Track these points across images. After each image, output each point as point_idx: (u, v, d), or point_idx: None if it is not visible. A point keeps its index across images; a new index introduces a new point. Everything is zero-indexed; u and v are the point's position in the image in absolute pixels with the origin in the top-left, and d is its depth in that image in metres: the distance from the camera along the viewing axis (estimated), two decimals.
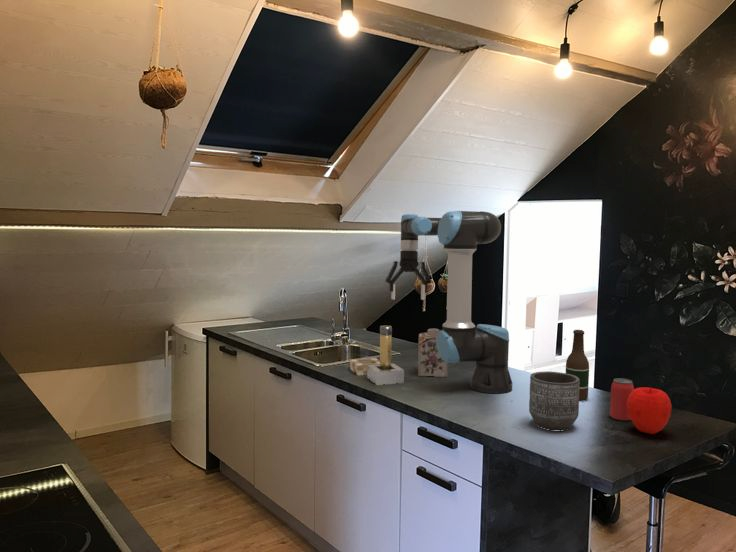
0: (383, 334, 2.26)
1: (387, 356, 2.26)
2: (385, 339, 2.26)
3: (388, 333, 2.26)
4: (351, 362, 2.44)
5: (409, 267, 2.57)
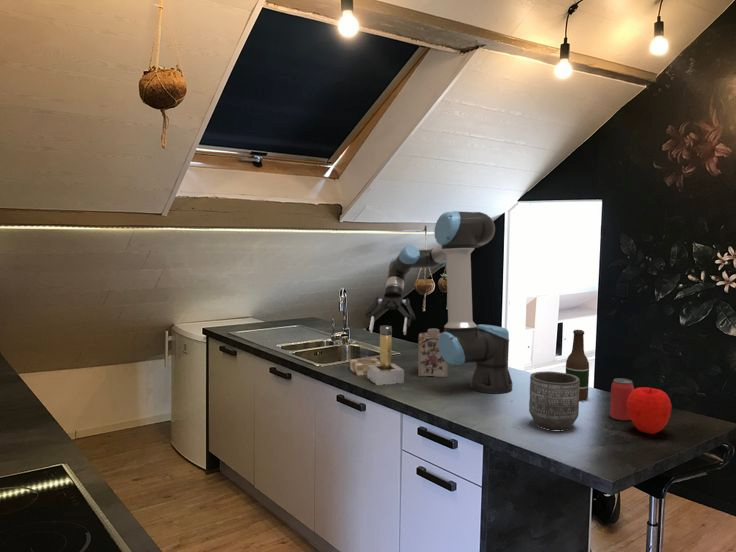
0: (383, 334, 2.26)
1: (387, 356, 2.26)
2: (385, 339, 2.26)
3: (388, 333, 2.26)
4: (351, 362, 2.44)
5: (391, 302, 2.43)
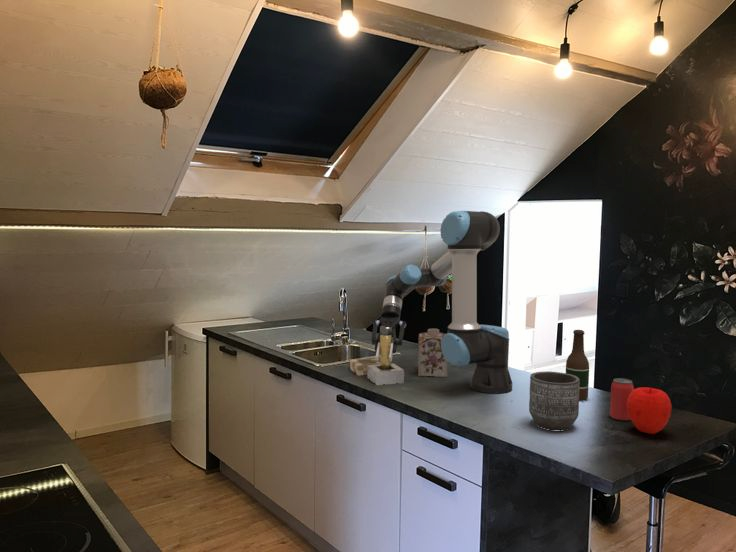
0: (383, 334, 2.26)
1: (387, 356, 2.26)
2: (385, 339, 2.26)
3: (388, 333, 2.26)
4: (351, 362, 2.44)
5: (388, 322, 2.34)
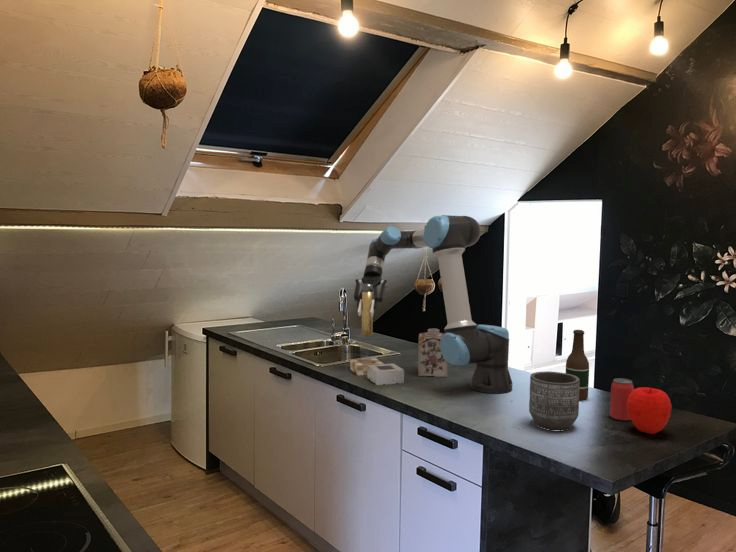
0: (365, 291, 2.38)
1: (368, 312, 2.39)
2: (367, 295, 2.38)
3: (369, 289, 2.38)
4: (351, 362, 2.44)
5: (370, 281, 2.47)
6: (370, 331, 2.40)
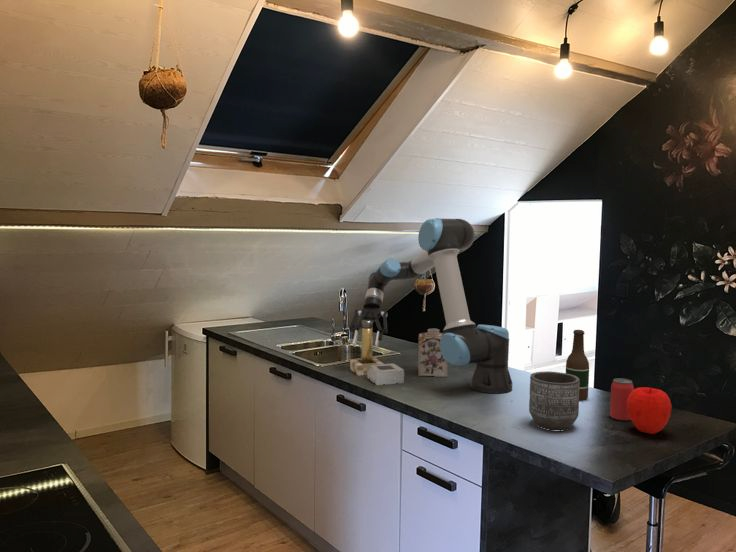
0: (364, 327, 2.40)
1: (368, 348, 2.40)
2: (366, 332, 2.40)
3: (369, 326, 2.40)
4: (351, 362, 2.44)
5: (370, 313, 2.48)
6: None
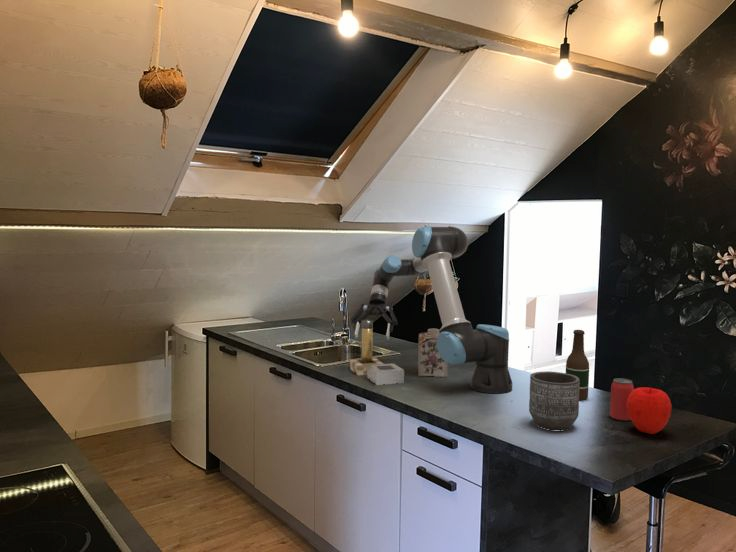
0: (364, 327, 2.40)
1: (368, 348, 2.40)
2: (366, 332, 2.40)
3: (369, 326, 2.40)
4: (351, 362, 2.44)
5: (375, 309, 2.60)
6: None
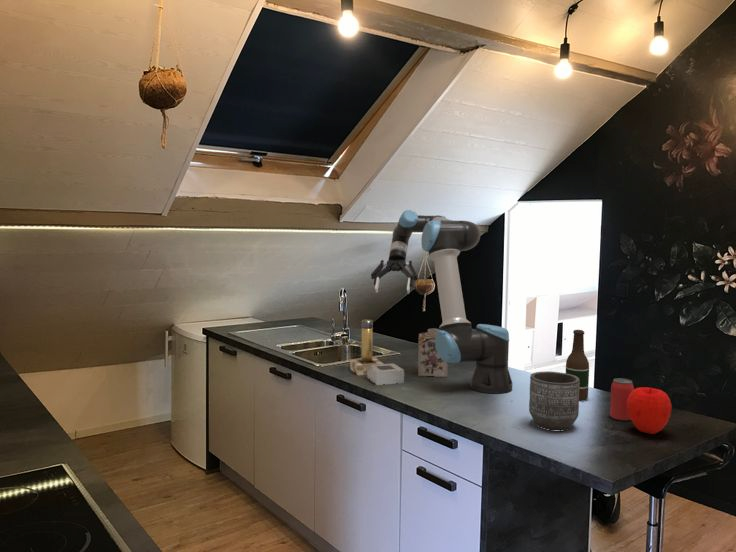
0: (364, 327, 2.40)
1: (368, 348, 2.40)
2: (366, 332, 2.40)
3: (369, 326, 2.40)
4: (351, 362, 2.44)
5: (395, 264, 2.59)
6: None
